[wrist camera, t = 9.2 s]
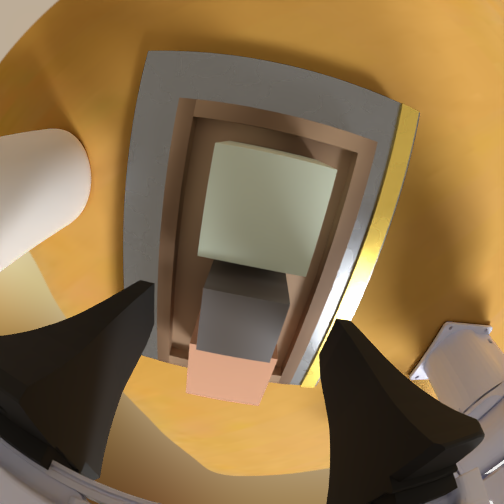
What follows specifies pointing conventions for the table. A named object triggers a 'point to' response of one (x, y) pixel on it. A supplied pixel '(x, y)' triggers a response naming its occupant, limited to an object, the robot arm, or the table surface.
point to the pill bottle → (39, 188)
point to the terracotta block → (227, 375)
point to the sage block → (264, 207)
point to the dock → (277, 100)
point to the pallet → (191, 208)
